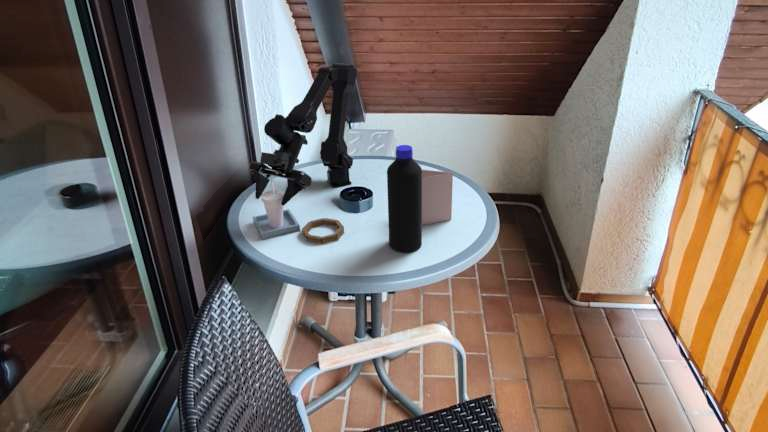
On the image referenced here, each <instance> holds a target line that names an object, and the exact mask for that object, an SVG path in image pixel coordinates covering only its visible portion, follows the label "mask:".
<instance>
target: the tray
mask: <svg viewBox="0 0 768 432" xmlns="http://www.w3.org/2000/svg"><path fill="white" fill-rule="evenodd" d="M291 211H292V210H290V209H289V208H286V209H283V225H282V226H281V227H279V228H272V227H271V226H270V223H269V220H268V216H267V213H265V214H261V215H257V216H256V215H255V216H253V217H252V222H253V225H254V227H255V229H256V231H257V232H258V235H259V236H260V238H261V241H264V240H268V239H272V238H277V237H281V236H285V235H289V234H293V233H298V232H301V227H300V224H299V222H298V220H297V219H296V217H295V216H294V215H293V213H292V212H291Z"/></svg>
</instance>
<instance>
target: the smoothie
mask: <svg viewBox="0 0 768 432" xmlns="http://www.w3.org/2000/svg"><path fill="white" fill-rule="evenodd" d="M270 185H271V190H268V191H264V192H263V193H262V195H261V196H260V198H261V201H262V202H263V206H264V209H265V212H266V213H265V214H267V216H268V220H269V223H270V226H271V227H272V228H279V227H281V226H282V225H283V210H284V206H283V205H281V203H282V199H283V196H284V194H285V192H283V191H281V190H276V189H275V186H274V180H273V179H271V180H270Z"/></svg>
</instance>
